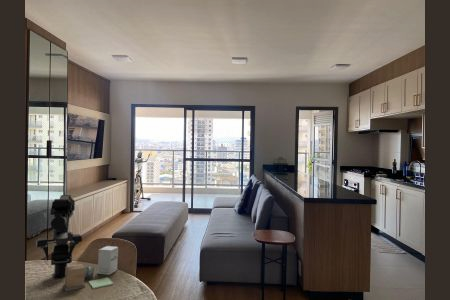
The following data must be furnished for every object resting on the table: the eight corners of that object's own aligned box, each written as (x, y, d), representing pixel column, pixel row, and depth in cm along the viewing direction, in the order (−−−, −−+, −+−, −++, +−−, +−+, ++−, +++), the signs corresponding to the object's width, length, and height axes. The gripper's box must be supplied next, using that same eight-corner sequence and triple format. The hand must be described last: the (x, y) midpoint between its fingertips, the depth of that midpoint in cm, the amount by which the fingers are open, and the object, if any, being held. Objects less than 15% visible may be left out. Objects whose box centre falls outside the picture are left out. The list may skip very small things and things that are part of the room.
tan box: (63, 286, 138) (64, 266, 138) (82, 282, 142) (82, 263, 143) (65, 291, 132) (66, 270, 133) (85, 287, 137) (86, 267, 137)
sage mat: (88, 282, 142) (88, 281, 142) (107, 278, 148) (107, 277, 148) (93, 288, 135) (93, 287, 135) (113, 284, 141) (113, 283, 141)
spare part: (82, 277, 149) (83, 267, 149) (92, 275, 152) (92, 265, 152) (84, 280, 145) (85, 269, 145) (94, 278, 148) (95, 268, 148)
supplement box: (109, 275, 152) (110, 250, 153) (97, 273, 154) (98, 249, 155) (117, 270, 160) (118, 246, 160) (105, 269, 161) (106, 245, 162)
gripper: (39, 230, 129) (37, 267, 128) (85, 226, 140) (83, 259, 139) (36, 226, 138) (34, 260, 137) (80, 222, 149) (78, 253, 148)
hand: (58, 258), depth 140 cm, fingers open, 9 cm apart
